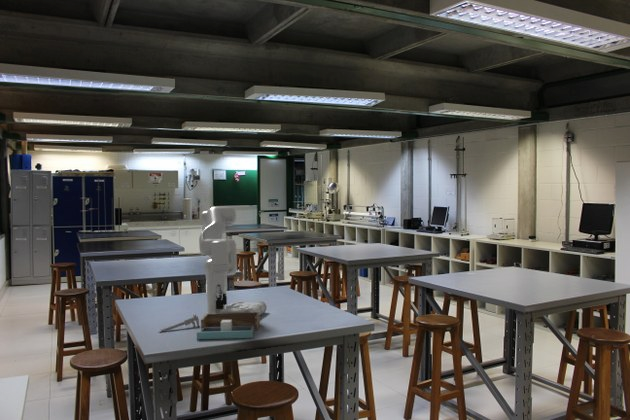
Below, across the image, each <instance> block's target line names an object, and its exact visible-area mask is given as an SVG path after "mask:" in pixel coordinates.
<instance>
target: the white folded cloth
mask: <svg viewBox="0 0 630 420" xmlns="http://www.w3.org/2000/svg"><path fill="white" fill-rule="evenodd" d="M267 308H268V305H267V304H266V302H264V301H258V302H247V301H246V302H244V301H234V302H232V303H228V304H226V305H225V309H223V310H221V311H220V313H252V312H259V317H260V316H261V315H262V314H264V313H266V311H267Z"/></svg>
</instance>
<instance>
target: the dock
mask: <svg viewBox="0 0 630 420" xmlns="http://www.w3.org/2000/svg"><path fill="white" fill-rule="evenodd" d="M260 319H261V318H260V316H259V312H252V313H217V314H207V313H205V314H204V316H202V318H201V319H200V327H201V328H200V331H201V330H202V328H203V327H221V321H222V320H232V326H254V331H258V330H259V327H260V324H261V321H260Z"/></svg>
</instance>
